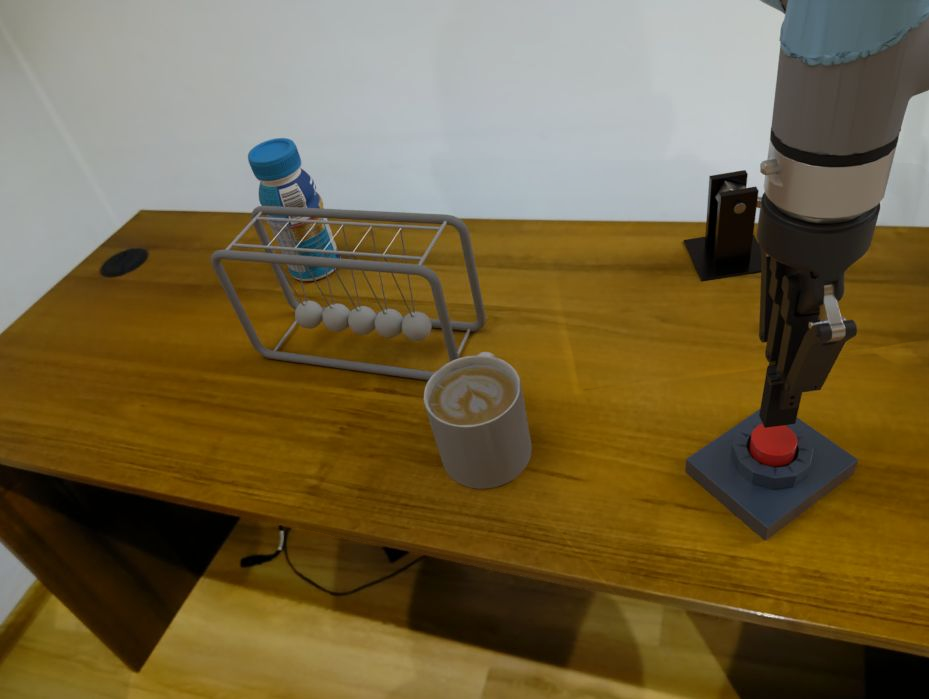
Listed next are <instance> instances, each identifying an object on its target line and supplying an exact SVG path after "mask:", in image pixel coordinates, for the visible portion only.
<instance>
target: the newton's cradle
mask: <svg viewBox="0 0 929 699" xmlns="http://www.w3.org/2000/svg"><path fill="white" fill-rule="evenodd" d="M250 214H251V216H250V218H251V221H249V223H248V224H247V225H246V226H245V227H244V228H243V229H242V230H241V231H240V232H239V233H238V235H237V236H236V237H235V238H234V239H233V240H232V242H230V243H229V245H227V247H226V248H225V249H218V250H215V251H214V252H213V253H212V254H211V256H210V265H211V267H212V269H213V271H214V273H215V275H216V277H217V279H218V281H219V283H220V285H221V287H222V289H223V290H224V292H225V295H226V297H227V299H228V300H229V303H230V304H231V306H232V308H233V310H234V313H235V315H237V318H238V320H239V322H240V325H241V326H242V328H243V331H244V332H245V335H246V336H247V338H248V340H249V342H250V344H251V346H252V347H253V349H254V350H255V351H256V352H257V353H258V354H260V355H261V356H263V357H264V358H266V359H270V360H277V361H284V362H291V363H296V364H297V363H299V364H305V365H313V366H320V367H328V368H334V369H342V370H349V371H356V372H364V373H371V374H376V375H377V374H378V375H385V376H393V377H399V378H406V379H414V380H421V381H427V382H428V381H429V379H430V378H431V376H432V375H433V374H434V373H435V372H436V371H429V370H422V369H416V368H415V369H414V368H406V367H398V366H391V365H385V364H384V365H383V364H377V363H368V362H360V361H353V360H347V359H337V358H331V357H324V356H316V355H310V354H309V355H308V354H300V353H294V352H285V351H279V349H280V348H281V346H282V345H283V343H284V342H285V340H287V338H288V336H289V335H290V334H291V332H292V331H293V329H294V328H295V326H296V325H297V324H298V325H299V326H300V327H301V328H304V329H308V330H313V329H315V328H317V327H319V326H320V325H321V324H322V323H323V325H324V327H325V328H326V329H328V331H330V332H334V333H341V332H343V331H346V329H348V328H350V330H351V331H352V332H353V333H355V334H356V335H358V336H359V335H360V336H366V335H369V334H371V333H373V332H374V330H375V331H376V333H377V334H378V335H379V336H381V338H382V337H383V338H386V339H393V338H396V337H399V335H400V334H401V333H403V335H404V336H405V338H407V340H409V341H412V342H422V341H424V340H426V339H427V338H428V337H429V336H430V334H431V332H432V328H435V329H441V331H442V336H443V340H444V342H445V344H444V345H445V347H446V351H447V355H448V358H449V359H448V360H449V362H451V361H453V360H456V359H459V358H460V354H461V353H462V350H463V348H464V346H465V344H466V341H467V339H468V337H469V335H470V333H471V332H478V331H481V330H482V329H483V328H484V327H485V325H486V323H487V316H486V312H485V305H484V302H483V296H482V291H481V286H480V281H479V276H478V271H477V266H476V265H477V264H476V261H475V256H474V251H473V250H474V249H473V244H472V241H471V236H470V231H469V229H468V226H467V225H466V223H465V222H464V221H463V220H461V219H460V218H459V217H457V216H455V215H453V214H452V215H451V214H444V213H443V214H442V213H422V212H403V211H402V212H401V211H383V210H381V211H379V210H362V209H361V210H360V209H359V210H358V209H340V208H324V209H320V208H300V207H279V206H262V205H258V206H256V207H255V208H253V210H252V212H251V213H250ZM265 215H278V216H296V217H315V218H327V219H333V220H328V221H321V220H303V219H285V218H267V217H265ZM334 219H335V220H334ZM336 219H337V221H336ZM339 220H353V221H358V220H359V221H371V222H353V221H339ZM262 221H266V222H267V221H281V222H287V224H288V227H289V232H290V236H291V240H292V245H293V248H290V247H279V246H277V245H276V246H273V244H272V243H273V242H274V240H276V237H277V235H278V234H279V233H280V232H281V231H282V230H283V228H284V227H285V226H286V225H287V224H286V225H285V226H284V227H283V228H282V230H281V231H280V232H279V233H278V234H277V235H276V237H275V236H274V238H273V239H272V240H270V238H269V235H268V233H267V230H266V228H265V226H264V224H263V222H262ZM372 221H374V223H373V222H372ZM289 222H298V223H315V224H314V225H315V229H316V234H317V238H318V242H319V247H320V250H318V249H304V248H296V247H297V246H298V245H299V244H300V242H301V241H302V240H303V239H304V237H305V236H306V235H307V234H308V232H309V231H310V230H311V229H312V228H313V226H314V225H313V226H312V227H311V229H310V230H309V231H308V232H307V234H306V235H305V236H304V237H303V239H302V240H301V241H300V242H299V244H298V245H297V246H296V247H295V248H294V243H293V239H292V235H291V230H290V226H289ZM375 222H393V223H394V224H393V223H392V224H390V223H375ZM395 223H407V224H395ZM408 223H409V225H408ZM410 223H412V224H429V225H430V226H428V225H427V226H426V225H410ZM316 224H329V225H333V226H334V225H337V226H340V228H339V229H338V230H337V232H336V233H335V234H334V235H333V238H334V239H335V237H336V236H337V235H338V233H339V232H340V230H341V229H342V234H343V239H344V243H345V247H346V251H345V250H339V251H332V250H325V249H326V247H327V246H328V245H329V243H330V242H331V241H332V239H333V238H332V239H331V241H330V242H329V243H328V245H327V246H326V247H325V248H324V250H322V249H321V245H320V241H319V237H318V232H317V228H316ZM431 224H432V225H440V226H431ZM252 226H253V228H254V229H255V232H256V234H257V236H258V238H259V241H260V243H261V244H249V243H248V244H247V243H237V242H238V241H239V240H240V239H242V237H243V236H244V234H246V233H247V232H248V230H250V229H251V227H252ZM344 226H350V227H351V226H352V227H353V226H354V227H369V228H368V230H367V231H366V232H365V234H364V235H363V237H362V238H361V240H359V243H358V244H357V245H356V247H355V248H354V249H353V251H349V246H348V241H347V237H346V232H345V228H344ZM446 226H451V227H453V228H454V229H456V230H457V232H458V234H459V240H460V243H461V248H462V254H463V258H464V264H465V267H466V272H467V277H468V282H469V287H470V292H471V297H472V300H473V306H474V310H475V315H476V321H475V322H467V321H455V320H451V319H450V315H449V310H448V307H447V302H446V299H445V294H444V290H443V287H442V283H441V280H440V278H439V276H438V275H437V274H436V273H435V271H434V270H432V269H431V268H429V267H427V266H425V265H423V264H424V262H425V261H426V259H427V258H428V256H429V254H430V252H431V251H432V249H433V247H434V245H435V244H436V242H437V241H438V239H439V237H440V236H441V234H442V233H443V231H444V229H445V227H446ZM373 228H385V229H387V228H388V229H398V230H397V232H396V234H395V235H394V237H393V239H392V240H391V241H390V243H389V245H388V246H387V247H386V249H385V251H384V252H383V253H377V248H376V247H377V246H376V242H375V236H374V234H373V233H374V232H373ZM402 229H405V230H406V229H407V230H423V231H424V230H426V231H437V232H436V233H435V236H433V239H432V240H431V242H430V244H429V245H428V247H427V248H426V250H425V251H424V254H423V255H422V256H417V255H416V256H413V255H406V250H405V244H404V238H403V232H402ZM369 232H371V238H372V244H373V248H374V253H371V252H359V251H356V249H357V248H358V247H359V246H360V244H361V243H362V241H363V240H364V239H365V237H366V236H367V234H368V233H369ZM399 233H400V238H401V245H402V251H403V255H400V254H399V255H398V254H386V252H387V251H388V249H390V246H391V245H392V243H393V242H394V240H395V239H396V237H397V236H398V234H399ZM232 248H246V249H258V250H259V249H260V250H264V252H260V251H245V250H235V249H234V250H232ZM281 250H285V251H294V253H295V255H287V254H282V253H276V252H275V251H281ZM295 251H297V253H298V255H296V252H295ZM299 252H312V253H321V255H322V257H313V256H301V255H300V254H299ZM322 253H325V255H326V256H327V254H339V255H340V256H348V258H341V259H340V258H329V257H328V256H327V257H323V254H322ZM351 256H353V257H354V258H355V259H353V258H352V259H351ZM358 257H368V258H375V260H366V259H365V260H364V259H358ZM378 258H379V259H381V258H383V259H384V261H379V259H378ZM388 259H394V260H404V262H390V261H388ZM221 260H228V261H240V262H241V261H243V262H252V263H266V264H270V266H271V268H272V271H273V272H274V275H275V277H276V279H277V280H276V281H277V282H278V284H279V287H280V289H281V291H282V293H283V295H284V298H285V300H286V302H287V304H288V305H289V306H290V307H291V308H292V309H294V319H295V320H294V322H293V323H292V324H291V326H290V327H289V328H288V329H287V331H286V333H285V334H284V336H283V337H282V338H281V339H280V341H279V342H278V344H277V345H276V346H275V347H274V349H273V350H272V349H269V348H267V347H266V346H264V345H263V344H262V342H261V340H260V338H259V336H258V334H257V332H256V330H255V328H254V326H253V324H252V323H251V320H250V318H249V316H248V314H247V312H246V310H245V308H244V306H243V304H242V302H241V300H240V298H239V296H238V294H237V292H236V290H235V287H234V286H233V284H232V282H231V280H230V278H229V276H228V274H227V272H226V270H225V268H224V266H223V264H222V262H221ZM407 260H410V261H419V262H418V263H417V264H416V263H408V262H407ZM287 264H289V265H297V266H298V271H299V275H300V279H301V281H300V283H301V284H300V285H301V288H302V292H303V296H304V301H303V300H302V298H301V297H300V295H299V294H298V292H297V291H296V289H295V287H294V286H293V284H292V282H291V281H290V279H289V277H288V276H287V273H286V272H285V271H284V269H283V267H282V265H287ZM299 265H301V266H306V268H307V270H308V271H309V273H310V275H311V276H312V274H311V272H310V270H309V269H308V267H307V266H313V267H324V268H325V272H326V280H327V285H328V288H329V293H330V297H331V301H332V304H330V302H329V300H328V299H327V297H326V296H325V294H324V292H323V290H322V288H321V287H320V285H319V284H318V282H317V280H315V279H314V277H313V276H312V278H313V280H314V283H315V285H316V287H317V289H318V290H319V291H320V293H321V295H322V296H323V298H324V300H325V301H326V303H327V305H328V306H326V307H322V306H321V305H320V304H319V303H318V302H317V301H314V300H307V297H306V292H305V288H304V283H303V281H302V278H301V274H300V270H299ZM326 268H333V269H334V273H335V275H336V276H337V279H338V280H339V282H340V284H341V285H342V287H343V290H344V291H345V292H346V294H347V296H348V298H349V300H350V302H351V304H352V305H353V309H352V310H351V309H349V308H348V307H347V306H346V305H345V304H342V303H335V302H334V301H335V300H334V296H333V293H332V289H331V284H330V280H329V279H330V278H329V275H327V271H326ZM335 268H337V269H339V270H351V275H352V279H353V285H354V289H355V294H356V299H357V304H358V306H356V304H355V303H354V301H353V299H352V297H351V295H350V294H349V292H348V289H347V288H346V286H345V284H344V283H343V281H342V279H341V278H340V275H339V274H338V272H337V269H336V270H335ZM354 271H361V272H362V274H363V277H364V278H365V280H366V282H367V284H368V286H369V288H370V291H371V292H372V294H373V296H374V298H375V299H376V302H377V304H378V305H379V308H380V309H381V311H379V312H375V311H374V310H373V309H372V308H371V307H369V306H366V305H361V303H360V298H359V294H358V289H357V285H356V279H355V274H354ZM365 272H375V273H376V272H377V273H378V274H379V280H380V286H381V291H382V296H383V302H384V306H385V309H383V307H382V304H381V303H380V300H379V299H378V296H377V295H376V292H375V291H374V289H373V287H372V285H371V283H370V281H369V278H368V277H367V275H366V273H365ZM381 273H387V274H391V276H392V278H393V280H394V282H395V285H396V286H397V288H398V291H399V293H400V295H401V298H402V300H403V301H404V303H405V304H404V305H405V306H406V308H407V310H408V312H409V313H407V314H406V315H402V314H401V313H400V312H399V311H398V310H396V309H393V308H388V306H387V302H386V296H385V295H386V294H385V290H384V285H383V280H382V274H381ZM394 274H398V275H399V274H400V275H401V274H402V275H406V276H407V281H408V287H409V294H410V299H411V305H412V311H411V310H410V307H409V305H408V303H407V301H406V299H405V297H404V296H405V295H404V294H403V291H402V290H401V288H400V286H399V284H398V281H397V279H396V277H395V275H394ZM410 275H412V276H418V277H419V276H420V277H422V278H424V279H425V280H426V281H427V282H428V283H429V286H430V289H431V292H432V293H431V294H432V297H433V300H434V304H435V308H436V309H435V310H436V312H437V316H438V319H437V318H430V317H429V316H428V315H427V314H426V313H424V312H422V311H415V310H416V309H415V304H414V298H413V293H412V292H413V291H412V287H411V281H410ZM290 286H291V287H290ZM291 288H292V290H293V291H292V290H291ZM293 292H294V293H295V295H296V296H297V299H298V300H299V301H300V302H299V301H297V300H296V298H295V296H294V293H293ZM453 331H461V332H465V335H464V337H463V338H462V341H461V342H460V345H459V347H458V348H457V344H456V340H455V335H454V332H453Z"/></svg>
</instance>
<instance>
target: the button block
mask: <svg viewBox="0 0 929 699" xmlns="http://www.w3.org/2000/svg"><path fill="white" fill-rule="evenodd" d="M759 414H760V408H759V409H757V410H756V411H754V412H753V413H751V414H749V416H747V417H746V418H744V419H743V420H741V421H740V422H738V423H737V424H735V425H734V426H733V427H731V428H729V429H727V431H725V432H724V433H722V434H721V435H719V436H717V438H715V439H713V440H712V441H710V442H709V443H707V444H706V445H704V446H703V447H702V448H700V449H699V450H698V451H696V452H694V453H693V454H692V455H690V456H688V457H687V458H686V459H685V469H684V470H685V474H686V475H688V476H689V477H690V478H691V479H693V481H695V482H696V483H697V484H698V485H699V486H700V487H702V488H703V490H705V491H706V492H707V493H709V494H710V495H711V496H712V497H713V498H715V500H717V501H718V502H719V503H720V504H721V505H722V506H723V507H725V509H727V510H728V511H729V512H731V513H732V514H733V515H734V516H735V517H736V518H738V519H739V520H740V521H741V522H742V523H743V524H744V525H746V527H748V528H749V529H750V530H751V531H753V533H755V534H756V536H758V537H760V538H761V540H763V541H764V542H766V541H767V540H769V539H770V538H771V537H773V536H774V535H775V534H777V533H778V532H779V531H780V530H782V529H783V528H785V527H786V526H787V525H788V524H790V523H791V522H792V521H793V520H795V519H796V518H798V517H799V516H800V515H802V514H803V513H804V512H806V511H807V510H808V509H810V507H812V506H814V505H815V504H816V503H817V502H818V501H820V500H821V499H823V498H824V497H825V496H827V495H828V494H829V493H830V492H832V491H833V490H835V489H836V488H838V486H840V485H841V484H843V482H845V481H846V480H848V479H849V478H850V477H852V476H853V475H854V474H855V472H856V468H857V465H858V462H859V459H858V458H857V457H855V456H853V455H852V454H851V453H850V452H848V451H847V450H845V449H844V448H842V447H840V446H839V445H838V444H836V443H835V442H833V441H832V440H830V439H829V438H828V437H827V436H825V435H824V434H822V433H820V432H819V431H818V430H816V429H814V428H813V427H812V426H810V425H808V423H806V422H805V421H803V420H801V419H800V418H799V417H797V418H796V423H795V424H790V425H784V426H786V427H788V428H789V429H791V430H792V431H793V432H794V434H795V435H796V437H797V447H796V452H795V456H794V458H793V460H792V461H791V462H790V463H788V464H787V465H784V466H780V467H771V466H767V465H764V464H762V463H760V462H758V461H757V460H756V459H755V458H754V457H753V456H752V454H751V452H750V440H751V434H752V432H753V430H754V429H755V428H756V427H757V426H759V425H761V424H763V423H762V421H761V419H760V416H759Z"/></svg>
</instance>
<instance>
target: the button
mask: <svg viewBox="0 0 929 699" xmlns="http://www.w3.org/2000/svg"><path fill="white" fill-rule="evenodd" d="M796 447H797V437H796V435H795V434H794V432H793V431H792V430H791V429H789V428H788V427H786V426H784V425H783V426H775V427H767V428H764V425H763V424H761V425H759V426H757V427H756V428H755V429H754V430H753V432H752V434H751V440H750V452H751V454H752V456H753V457H754V458H755V459H756V460H757V461H758V462H760V463H762V464H764V465H767V466H771V467H780V466H784V465H787V464H788V463H790V462H791V461H792V460H793V458H794V456H795V452H796Z"/></svg>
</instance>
